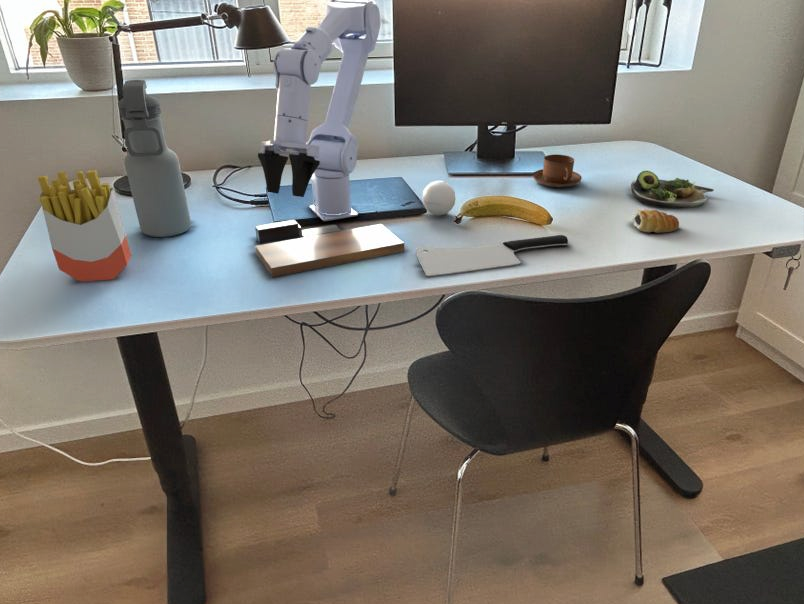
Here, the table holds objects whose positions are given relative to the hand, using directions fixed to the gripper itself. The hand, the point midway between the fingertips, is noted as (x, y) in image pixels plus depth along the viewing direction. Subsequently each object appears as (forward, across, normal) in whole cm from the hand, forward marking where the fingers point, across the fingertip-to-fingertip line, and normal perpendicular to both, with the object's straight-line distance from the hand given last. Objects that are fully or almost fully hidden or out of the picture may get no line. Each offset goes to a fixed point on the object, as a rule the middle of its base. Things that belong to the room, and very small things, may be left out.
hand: (285, 194), depth 124 cm
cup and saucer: (-12, +17, +69) cm, 72 cm away
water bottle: (+10, -26, -8) cm, 30 cm away
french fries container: (+19, -16, -26) cm, 36 cm away
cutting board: (+10, +7, +7) cm, 14 cm away
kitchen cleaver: (+6, +32, +27) cm, 42 cm away
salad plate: (-12, +42, +79) cm, 90 cm away
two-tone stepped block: (+8, -4, +8) cm, 12 cm away
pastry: (-4, +48, +59) cm, 76 cm away
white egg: (0, +8, +34) cm, 35 cm away
